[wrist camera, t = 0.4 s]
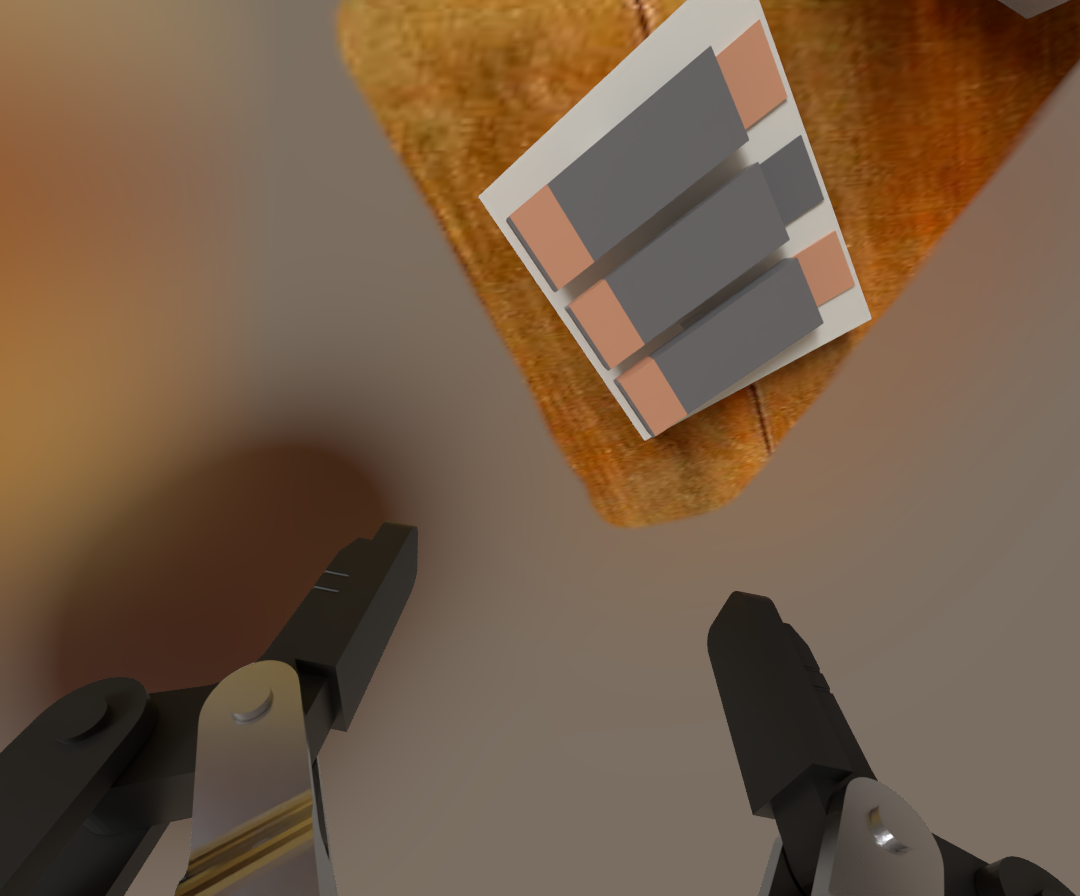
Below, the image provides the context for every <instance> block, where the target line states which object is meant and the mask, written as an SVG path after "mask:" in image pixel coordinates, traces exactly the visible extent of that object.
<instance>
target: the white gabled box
mask: <svg viewBox="0 0 1080 896" xmlns="http://www.w3.org/2000/svg"><path fill="white" fill-rule="evenodd" d="M998 1H1000V2H1001V3H1003V4H1004V5H1006V6H1007V7H1009V8H1011V9H1012V10H1014V11H1015V12H1017V13H1018V14H1020V15H1021V16H1023V17H1025V18H1026V19H1029V18H1031V17H1034V16H1036V15H1038V14H1040V13H1043V12H1045V11H1047V10H1049V9H1052V8H1054V7H1056V6H1058V5H1061V4H1063V3H1065V2H1068V1H1070V0H998Z"/></svg>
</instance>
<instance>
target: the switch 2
mask: <svg viewBox="0 0 1080 896" xmlns="http://www.w3.org/2000/svg"><path fill="white" fill-rule="evenodd" d="M789 240H790V238H789V236H788V233H787V231H786V229H785V226H784V224H783V221H782V219H781V216H780V214H779V211H778V209H777V206H776V204H775V202H774V199H773V197H772V194H771V192H770V189H769V187H768V184H767V182H766V179H765V177H764V174H763V172H762V170H761V167H760V165H759V162H756V163H754V164H752V165H749V166H747V167H745V168H744V169H743V170H741V171H740V172H739V173H737V174H736V175H735V176H734V177H732V178H731V179H730V180H728V181H727V182H726V183H725V184H723V185H722V186H721V187H719V188H718V189H717V190H715V191H714V192H713V193H712V194H710V195H709V196H708V197H706V198H705V199H704V200H703V201H701V202H700V203H699V204H697V205H696V206H695V207H694V208H692V209H691V210H690V211H688V212H687V213H686V214H684V215H683V216H682V217H681V218H679V219H678V220H677V221H675V222H674V223H673V224H672V225H670V226H669V227H668V228H666V229H665V230H664V231H662V232H661V233H660V234H659V235H657V236H656V237H655V238H653V239H652V240H651V241H650V242H648V243H647V244H646V245H644V246H643V247H642V248H641V249H639V250H638V251H637V252H635V253H634V254H633V255H631V256H630V257H629V258H628V259H626V260H625V261H624V262H622V263H621V264H620V265H619V266H617V267H616V268H615V269H613V270H612V271H611V272H609V273H608V274H607V275H606V276H604V277H603V278H602V279H600V280H599V281H597V282H596V283H595V284H594V285H592V286H591V287H590V288H588V289H587V290H586V291H585V292H583V293H582V294H581V295H579V296H578V297H577V298H576V299H574V300H573V301H572V302H570V303H569V304H568V305H567V306H566V307H564V308H565V310H566V311H567V313H568V314H569V316H570V317H571V319H572V320H573V322H574V323H575V325H576V326H577V328H578V329H579V331H580V332H581V334H582V335H583V337H584V338H585V340H586V341H587V343H588V344H589V346H590V347H591V349H592V350H593V352H594V353H595V355H596V356H597V358H598V359H599V361H600V362H601V364H602V365H603V367H604V368H605V369H606V370H608V371H609V370H610V369H612V368H613V367H615V366H616V365H618V364H619V363H620V362H622V361H623V360H625V359H626V358H627V357H629V356H630V355H631V354H633V353H634V352H636V351H637V350H638V349H640V348H641V347H643V346H644V345H645V344H646V343H648V342H649V341H650V340H652V339H653V338H655V337H656V336H657V335H659V334H660V333H661V332H663V331H664V330H666V329H667V328H668V327H670V326H671V325H673V324H674V323H675V322H677V321H678V320H679V319H681V318H682V317H684V316H685V315H686V314H688V313H689V312H691V311H692V310H693V309H695V308H696V307H697V306H699V305H700V304H702V303H703V302H704V301H706V300H707V299H709V298H710V297H711V296H713V295H714V294H715V293H717V292H718V291H720V290H721V289H722V288H724V287H725V286H727V285H728V284H729V283H731V282H732V281H733V280H735V279H736V278H738V277H739V276H740V275H742V274H743V273H745V272H746V271H747V270H749V269H750V268H751V267H753V266H754V265H756V264H757V263H758V262H760V261H761V260H763V259H764V258H765V257H767V256H768V255H769V254H771V253H772V252H774V251H775V250H776V249H778V248H779V247H781V246H782V245H783V244H785V243H786V242H788V241H789Z"/></svg>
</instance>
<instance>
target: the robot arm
mask: <svg viewBox="0 0 1080 896" xmlns="http://www.w3.org/2000/svg"><path fill="white" fill-rule="evenodd" d="M417 547H418V530H417V527H416V526H411V525H407V524H401V523H396V522H391V521H385V522H384V523H383V524H382V526H381V527H380V529H379V530H378V532H377V533H376V535H375V536H374V538H373V539H372V540H369V539H364V538H357V539H356V540H355V541H353V542H352V543H350V544H349V545H347V546H346V547H345V548H343V549H342V550H340V551H339V552H338V554H337V555H336V556H335V558H334V559H333V560H332V562H331V563H330V565H329V566H328V567H327V569H326V572H325V573H323V574H322V576H321V577H320V578H319V580H318V581H317V582H316V584H315V587H314V589H311V591H310V592H309V593H308V595H307V596H306V597H305V599H304V600H303V602H302V603H301V604H300V606H299V607H298V608H297V610H296V611H295V612H294V614H293V615H292V617H291V618H290V619H289V621H288V622H287V624H286V625H285V626H284V627H283V629H282V630H281V632H280V633H279V634H278V636H277V637H276V638H275V640H274V641H273V642H272V644H271V645H270V647H269V648H268V649H267V650H266V652H265V653H264V654H263V655H262V656H261V657H260V658H259V659H258V660H257V661H256V662H255V663H253V664H250V665H247V666H245V667H242V668H241V669H239V670H237V671H235V672H234V673H232V674H231V675H229V676H228V677H226V678H225V679H224V680H223V681H222V682H219V683H215V684H212V685H207V686H201V687H194V688H187V689H179V690H172V691H165V692H157V693H150V694H148V692H147V691H146V689H145V688H144V686H143V685H142V684H141V683H140V682H138V681H136V680H135V679H131V678H127V677H115V678H108V679H103V680H99V681H96V682H93V683H90V684H88V685H85V686H83V687H81V688H78V689H77V690H75V691H73V692H71V693H69V694H67V695H66V696H64V697H62V698H61V699H59V700H58V701H56V702H55V703H54V704H52V705H51V706H50V707H48V708H47V709H46V710H45V711H43V712H42V713H41V714H40V715H39V716H38V717H37V718H36V719H35V720H34V721H33V722H32V723H31V724H30V725H29V726H28V727H27V728H26V729H25V730H24V731H23V732H21V734H20V735H18V736H17V737H16V738H15V739H14V740H13V741H12V742H11V743H10V744H9V745H8V746H7V747H6V748H5V749H4V750H3V751H2V752H1V753H0V896H124V894H125V893H126V891H127V890H128V888H129V886H130V885H131V883H132V882H133V880H134V878H135V877H136V876H137V874H138V872H139V871H140V869H141V867H142V866H143V864H144V863H145V861H146V860H147V858H148V856H149V855H150V853H151V852H152V850H153V849H154V847H155V845H156V844H157V842H158V841H159V839H160V837H161V836H162V834H163V833H164V831H165V830H166V828H167V826H168V825H169V823H170V822H172V821H177V820H182V819H186V818H191V817H192V827H191V842H190V856H189V863H188V868H187V871H186V874H185V876H184V878H183V879H182V880H181V881H180V882H179V884H178V886H177V889H176V891H175V895H174V896H338V893H337V887H336V881H335V876H334V870H333V864H332V858H331V851H330V843H329V835H328V827H327V821H326V813H325V805H324V797H323V790H322V782H321V774H320V767H319V760H318V753H319V751H320V749H321V747H322V745H323V743H324V741H325V739H326V737H327V735H328V733H329V731H330V729H335V730H340V731H345V732H347V730H348V728H349V725H350V723H351V721H352V719H353V716H354V714H355V712H356V710H357V708H358V706H359V704H360V702H361V699H362V697H363V695H364V693H365V691H366V689H367V686H368V684H369V682H370V680H371V678H372V676H373V673H374V671H375V669H376V667H377V665H378V663H379V661H380V658H381V656H382V654H383V652H384V650H385V647H386V645H387V643H388V641H389V639H390V637H391V635H392V633H393V630H394V628H395V626H396V624H397V622H398V620H399V617H400V615H401V613H402V611H403V609H404V607H405V604H406V602H407V600H408V598H409V596H410V594H411V591H412V589H413V585H414V582H415V579H416V574H417V552H418V551H417V550H418V549H417ZM707 646H708V653H709V657H710V661H711V664H712V668H713V671H714V675H715V679H716V683H717V686H718V690H719V693H720V697H721V701H722V704H723V708H724V711H725V715H726V719H727V723H728V726H729V730H730V733H731V737H732V741H733V744H734V748H735V752H736V755H737V759H738V762H739V766H740V770H741V773H742V777H743V780H744V784H745V788H746V792H747V795H748V799H749V803H750V806H751V810H752V813H753V815H756V816H761V817H767V818H771V819H775V820H776V823H777V826H778V830H779V833H780V834H779V835H778V836H777V837H776V839H775V841H774V843H773V846H772V850H771V853H770V857H769V860H768V864H767V867H766V870H765V874H764V877H763V881H762V884H761V887H760V891H759V894H758V896H1075V894H1074V893H1072V892H1071V891H1070V890H1069V889H1068V888H1067V887H1066V886H1065V885H1064V884H1063V883H1061V882H1060V881H1059V880H1058V879H1057V878H1055V877H1054V876H1053V875H1051V874H1050V873H1049V872H1047V871H1046V870H1044V869H1043V868H1041V867H1039V866H1038V865H1036V864H1034V863H1032V862H1030V861H1028V860H1025V859H1022V858H1020V857H1013V856H1011V857H1006V858H1004V859H1001V860H999V861H996V862H994V863H992V864H988V863H986V862H984V861H982V860H981V859H979V858H977V857H975V856H973V855H972V854H970V853H968V852H966V851H964V850H962V849H961V848H959V847H957V846H955V845H953V844H951V843H949V842H948V841H946V840H944V839H942V838H940V837H938V836H936V835H935V834H933V833H931V832H930V830H929V828H928V827H927V826H926V824H925V822H924V821H923V820H922V819H921V817H920V816H919V815H918V814H917V812H916V811H915V810H914V809H913V808H912V807H911V806H910V805H909V804H908V803H907V802H906V801H905V800H904V799H903V798H902V797H901V796H900V795H898V794H897V793H896V792H895V791H893V790H892V789H890V788H889V787H888V786H886V785H884V784H882V783H880V782H878V780H877V779H876V777H875V775H874V773H873V772H872V770H871V768H870V766H869V764H868V762H867V760H866V758H865V756H864V754H863V752H862V750H861V748H860V746H859V744H858V743H857V741H856V739H855V737H854V735H853V733H852V731H851V729H850V727H849V725H848V723H847V721H846V719H845V717H844V715H843V713H842V711H841V709H840V707H839V705H838V703H837V701H836V699H835V697H834V696H833V694H831V693H830V691H829V690H830V688H829V686H828V684H827V682H826V680H825V678H824V676H823V674H821V673H820V671H819V670H820V668H819V666H818V664H817V662H816V660H815V658H814V656H813V654H812V652H811V650H810V648H809V646H808V645H807V644H806V643H805V641H804V640H803V639H802V638H801V637H800V636H799V634H798V633H797V632H796V631H795V630H794V629H793V628H792V626H790V624H787V623H783V622H782V620H781V618H780V616H779V613H778V611H777V609H776V607H775V605H774V603H773V602H772V600H771V599H770V598H768V597H765V596H760V595H754V594H749V593H745V592H739V591H734V592H733V593H732V594H731V595H730V596H729V598H728V600H727V601H726V603H725V605H724V606H723V608H722V609H721V611H720V612H719V614H718V616H717V617H716V619H715V621H714V622H713V624H712V625H711V627H710V629H709V633H708V640H707Z"/></svg>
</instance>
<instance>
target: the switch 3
mask: <svg viewBox="0 0 1080 896" xmlns="http://www.w3.org/2000/svg"><path fill="white" fill-rule="evenodd" d="M823 323H824V322H823V320H822V317H821V315H820V312H819V310H818V307H817V305H816V302H815V300H814V297H813V295H812V293H811V290H810V288H809V285H808V283H807V280H806V278H805V275H804V273H803V270H802V268H801V265H800V263H799V261H798V258H784V259H782V260H781V261H779V262H778V263H777V264H775V265H774V266H772V267H771V268H770V269H768V270H767V271H765V272H764V273H763V274H761V275H760V276H759V277H757V278H756V279H754V280H753V281H752V282H750V283H749V284H747V285H746V286H745V287H743V288H742V289H740V290H739V291H738V292H736V293H735V294H733V295H732V296H731V297H729V298H728V299H726V300H725V301H724V302H722V303H721V304H719V305H718V306H717V307H715V308H714V309H712V310H711V311H710V312H708V313H707V314H705V315H704V316H703V317H701V318H700V319H698V320H697V321H696V322H694V323H693V324H691V325H690V326H689V327H687V328H686V329H684V330H683V331H682V332H680V333H679V334H677V335H676V336H675V337H673V338H672V339H670V340H669V341H668V342H666V343H665V344H663V345H662V346H661V347H659V348H658V349H656V350H655V351H654V352H652V353H651V354H649V355H648V356H646V357H645V358H643V359H642V360H641V361H639V362H638V363H636V364H635V365H634V366H632V367H631V368H629V369H628V370H627V371H625V372H624V373H622V374H621V375H620V376H618V377H617V378H615V380H613V381H614V383H615V384H616V386H617V387H618V389H619V390H620V392H621V393H622V395H623V396H624V398H625V399H626V401H627V402H628V404H629V405H630V407H631V408H632V410H633V411H634V413H635V414H636V416H637V417H638V419H639V420H640V422H641V423H642V425H643V426H644V428H645V429H646V431H647V432H648V433H649V434H650V435H651V436H652V438H654V437H655V436H657V435H659V434H660V433H662V432H663V431H665V430H666V429H667V428H669V427H670V426H672V425H673V424H675V423H676V422H678V421H679V420H681V419H682V418H684V417H685V416H687V415H688V414H689V413H691V412H692V411H694V410H695V409H697V408H698V407H700V406H701V405H703V404H704V403H706V402H707V401H709V400H710V399H712V398H713V397H715V396H716V395H718V394H719V393H721V392H722V391H724V390H725V389H727V388H728V387H730V386H731V385H733V384H734V383H736V382H737V381H738V380H740V379H741V378H743V377H744V376H746V375H747V374H749V373H750V372H752V371H753V370H755V369H756V368H758V367H759V366H761V365H762V364H764V363H765V362H767V361H768V360H770V359H771V358H773V357H774V356H776V355H777V354H779V353H780V352H782V351H783V350H785V349H786V348H788V347H789V346H791V345H792V344H794V343H795V342H797V341H798V340H800V339H801V338H803V337H804V336H806V335H807V334H809V333H810V332H812V331H813V330H815V329H816V328H817V327H819V326H820V325H822V324H823Z"/></svg>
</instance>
